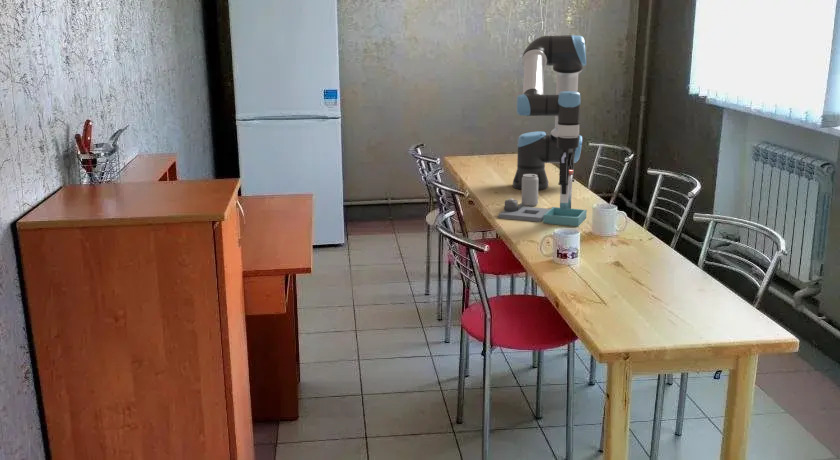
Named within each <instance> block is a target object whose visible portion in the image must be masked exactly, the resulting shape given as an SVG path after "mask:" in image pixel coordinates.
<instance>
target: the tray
mask: <svg viewBox="0 0 840 460" xmlns="http://www.w3.org/2000/svg"><path fill="white" fill-rule="evenodd" d="M549 209H550V210H549V211H548V212H546V213H545V214H544V218H543V221H542V222H543V224H548V225H560V226H568V225H569V226H570V227H579V226H580V225H581V224H582V223H583V222H584V221H585V220H586V219H587V212H588V211H587V209H582V208H581V209H579V208H571V210H561V209H560V207H559V206H558V207H556V206H552V207H551V208H549Z"/></svg>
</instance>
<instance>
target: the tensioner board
mask: <svg viewBox="0 0 840 460" xmlns="http://www.w3.org/2000/svg"><path fill="white" fill-rule="evenodd" d="M518 202H519V201H518V200H517V199H514V198H508V199H506V200H504V206H503V207H504V208H503V209H504V210H502V211H500V212H499V213H498V219H507V220H517V221H528V222H538V223H541V222H543V218H544V214H545V213H546V212H548V211H549V210H550V209H551V208H543V207H535V206H532V207H528V206H524V205H523V203H520V204H519V203H518Z"/></svg>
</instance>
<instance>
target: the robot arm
mask: <svg viewBox="0 0 840 460" xmlns="http://www.w3.org/2000/svg"><path fill="white" fill-rule="evenodd" d="M585 42H586V41H585V38H584V36H582V35H572V34H569V35H568V34H567V35H566V34H565V35H543V36H540V37H537V38H535V39H534V40H532V41H531V42H530V43H529V44H528V45H527V46H526V48H525V49H524V51H523V53H522V59H521V62H522V65H523V67H524V69H523V84H522V85H523V87H522V94H518V95H517V97H516V113H517V115H518V116H526V117H530V116H531V117H532V116H533V117H534V116H535V117H537V116H539V117H541V116H545V117H547V116H548V117H550V116H552V117H553V116H555V117H554V128H553V129H552V130H551V131H550V134H549V135H547V133H546V132H545V131H531V132H525V133H521V134H520V135H519V136H518V138H517V145H516V147H517V158H516V160H517V163H516V167H517V168H516V172H515V174H514V177H513V180H512V187H513V188H514V189H516V190H517V189H518V190H522V177H523V175H524V174H536V175H538V176H537V177H538V191H539V190H540V191H541V190H545V189H548V188H549V180H548V176H547V173H546V168H545V167H546V165H545V164H559V177H558V178H559V181H558V183H557V184H558V186H560V188H561V192H560V193H559V195H560V196H559V204H560V203H568V193H569V185H568V177H569V169H573V174H572V183H574V182H575V178H574V177H575V176H574V174H575V163H577V162H578V161H579V160H580V157H581V154H582V153H581V152H582V147H583V146H582V145H583V136H582V135H581V134H580V116H581V104H582V103H581V101H582V100H581V93H580V92H578V90H579V89H578V88H579V74H580V73H581V72H582V71H583V67H584V66H586V65H587V55H586V44H585ZM546 66H551V67H552V70H553V72H554V73H555V74H556V83H555V84H556V86H555V87H556V88H555V94H544V87H545V83H544V82H545V67H546Z"/></svg>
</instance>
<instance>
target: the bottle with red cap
mask: <svg viewBox="0 0 840 460" xmlns="http://www.w3.org/2000/svg"><path fill="white" fill-rule="evenodd" d="M572 174H573V169H569V177H568V185H569V193H568V203H560V202H559V208H560V209H561V210H571V209H572V195H573V194H572V192H573V182H572V180H573V179H572ZM559 191H560V192H561V187H560V190H559Z"/></svg>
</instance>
